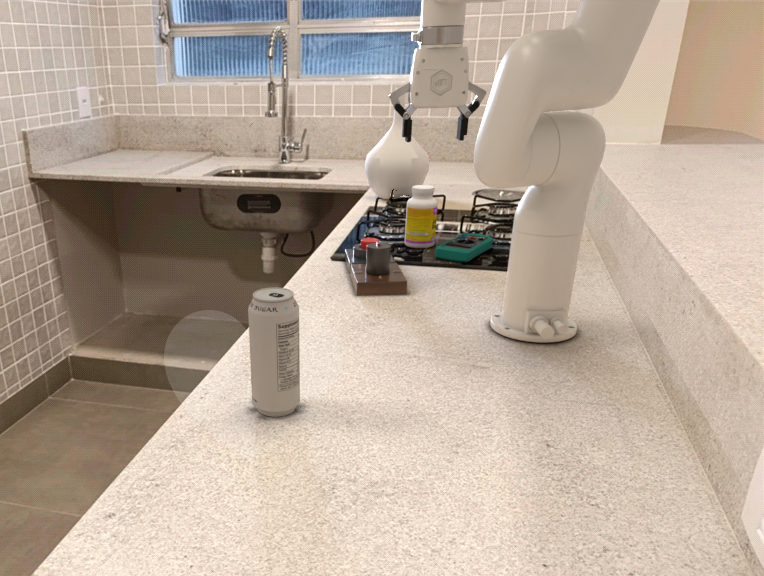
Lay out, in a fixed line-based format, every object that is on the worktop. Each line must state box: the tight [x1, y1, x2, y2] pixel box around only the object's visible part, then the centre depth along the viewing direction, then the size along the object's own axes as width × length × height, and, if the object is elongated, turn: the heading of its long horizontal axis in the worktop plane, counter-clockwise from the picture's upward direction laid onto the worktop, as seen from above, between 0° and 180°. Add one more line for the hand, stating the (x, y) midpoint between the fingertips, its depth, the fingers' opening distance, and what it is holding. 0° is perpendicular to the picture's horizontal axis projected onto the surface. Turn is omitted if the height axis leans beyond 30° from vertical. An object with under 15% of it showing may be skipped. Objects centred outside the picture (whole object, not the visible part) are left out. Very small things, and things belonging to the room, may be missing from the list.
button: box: [360, 237, 380, 249], centre depth 141 cm, size 4×4×2 cm
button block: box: [344, 242, 397, 275], centre depth 142 cm, size 11×9×4 cm
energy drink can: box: [247, 286, 301, 418], centre depth 84 cm, size 6×6×15 cm
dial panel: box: [349, 262, 408, 297], centre depth 130 cm, size 12×9×3 cm
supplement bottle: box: [403, 184, 438, 249], centre depth 153 cm, size 7×7×13 cm
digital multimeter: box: [434, 232, 494, 264], centre depth 148 cm, size 7×15×3 cm, turn 142°
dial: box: [366, 240, 392, 275], centre depth 129 cm, size 4×4×5 cm
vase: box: [364, 87, 430, 201], centre depth 200 cm, size 18×18×30 cm
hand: (433, 140), depth 130 cm, fingers open, 9 cm apart
